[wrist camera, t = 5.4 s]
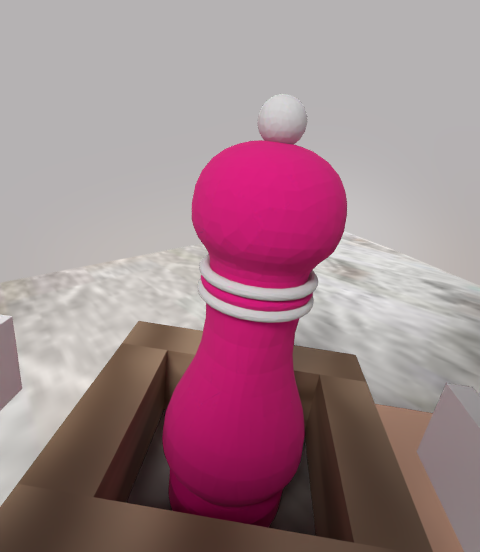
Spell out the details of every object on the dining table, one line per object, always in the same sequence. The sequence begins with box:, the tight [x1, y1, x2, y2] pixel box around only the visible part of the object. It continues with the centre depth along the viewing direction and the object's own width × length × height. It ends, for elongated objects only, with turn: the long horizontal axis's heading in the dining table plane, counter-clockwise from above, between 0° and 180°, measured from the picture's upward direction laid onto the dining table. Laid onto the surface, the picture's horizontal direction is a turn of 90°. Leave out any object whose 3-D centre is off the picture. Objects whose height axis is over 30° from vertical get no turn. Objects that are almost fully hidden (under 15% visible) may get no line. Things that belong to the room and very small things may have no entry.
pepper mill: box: [162, 94, 347, 528], centre depth 16 cm, size 7×7×20 cm
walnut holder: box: [0, 321, 433, 552], centre depth 19 cm, size 16×16×5 cm
